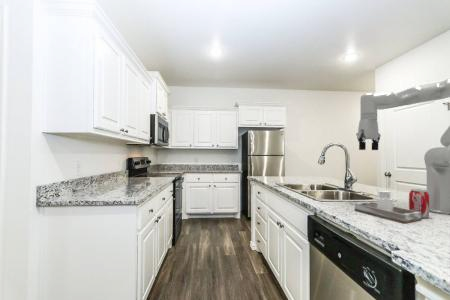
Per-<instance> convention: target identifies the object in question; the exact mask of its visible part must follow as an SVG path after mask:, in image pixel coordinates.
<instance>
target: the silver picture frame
mask: <svg viewBox="0 0 450 300" xmlns="http://www.w3.org/2000/svg"><path fill="white" fill-rule="evenodd" d="M354 211H355V212H358V213H362V214H366V215H368V216H369V215H370V216H374V217H377V218H381V219H385V220H389V221H392V222H397V223H401V224H409V223H415V222H420V221H422V219H423V218H422V215H421V212H418V211H413V210H409V208H404V207H398V206H394V208H393V212H391V211H387V210H383V209H378V208H377V202H374V201H373V202H372V201H366V202H357V203H354Z"/></svg>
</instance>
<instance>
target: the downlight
mask: <svg viewBox="0 0 450 300" xmlns="http://www.w3.org/2000/svg"><path fill="white" fill-rule="evenodd" d="M391 196H392V195H391V191H390V190H388V191H387V190H378V197H377V198H376V203H377V208H378V209H383V210H387V211H391V212H393V208H394V207H395V206H394V203H393V199H392V198H391Z"/></svg>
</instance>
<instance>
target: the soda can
mask: <svg viewBox="0 0 450 300" xmlns="http://www.w3.org/2000/svg"><path fill="white" fill-rule="evenodd" d="M408 210H413V211H418V212H421V215H422V219H427V218H429V216H430V211H429V194H428V193H427V189H419V188H412V189H410V191H409V193H408Z"/></svg>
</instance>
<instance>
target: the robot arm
mask: <svg viewBox="0 0 450 300" xmlns="http://www.w3.org/2000/svg"><path fill="white" fill-rule="evenodd" d="M447 98H450V78H447V79H445V80H443V81H439V82H434V83H427V84H424V85H423V84H422V85H416V86H413V87H410V88H409V87H408V88H406V89H405V90H402V91H399V92H396V93H394V92H393V91H384V92H377V93H375V92H373V93H372V92H369V93H364V94H362V95H361V96H360V99H359V100H360V105H359V106H360V110H359V111H360V115H359V116H360V120H359V123H358V127H357V128H358V129H357V132H356V137H357V138H356V139H357V141H358V149H359V151H366V147H367V146H366V140H371V151H379V142H380V139H381V137H382V136H381V133H379V124H378V123H379V122H378V110H379V111H381V110H387V109H388V110H389V109H395V108H399V107H403V106H405V107H406V106H412V105H415V104H420V103H426V102H432V101H439V100H443V99H447ZM439 142H440V144H441V145H442V146H443V147H442V146H440V147H438V146H437V147H432V148H430V149H428V150H426V152H425V154H424V158H423V159H424V165H425V171H426V172H425V173H426V190H427V193H428V194H429V213H430V212H431V213H436V214H442V215H450V125H449V126H448V127H447V129H446V130H445V131H444V132H443V134H442V135H441V137H440V141H439Z"/></svg>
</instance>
